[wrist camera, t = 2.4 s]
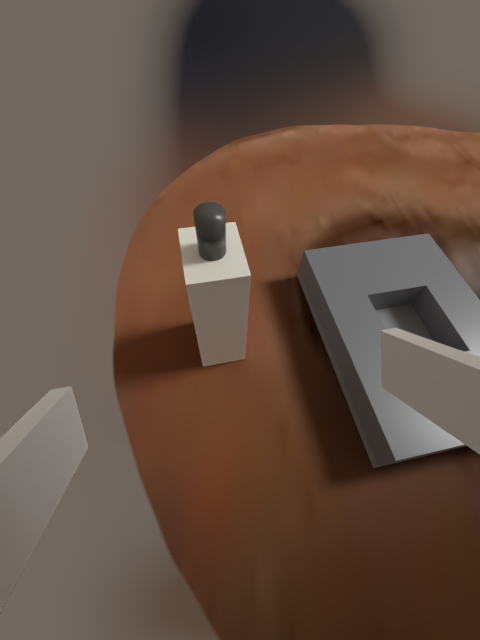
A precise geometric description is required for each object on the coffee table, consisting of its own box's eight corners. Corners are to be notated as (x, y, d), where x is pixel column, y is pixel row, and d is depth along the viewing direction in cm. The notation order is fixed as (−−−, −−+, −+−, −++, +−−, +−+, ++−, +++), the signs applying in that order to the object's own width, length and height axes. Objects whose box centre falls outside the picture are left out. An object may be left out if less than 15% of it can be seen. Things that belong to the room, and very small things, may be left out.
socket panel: (410, 259, 36) (428, 233, 33) (527, 431, 26) (571, 419, 22) (297, 276, 35) (304, 250, 31) (373, 468, 24) (395, 460, 21)
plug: (234, 315, 32) (235, 182, 19) (244, 359, 29) (253, 238, 16) (196, 322, 31) (170, 189, 18) (202, 366, 28) (178, 248, 16)
